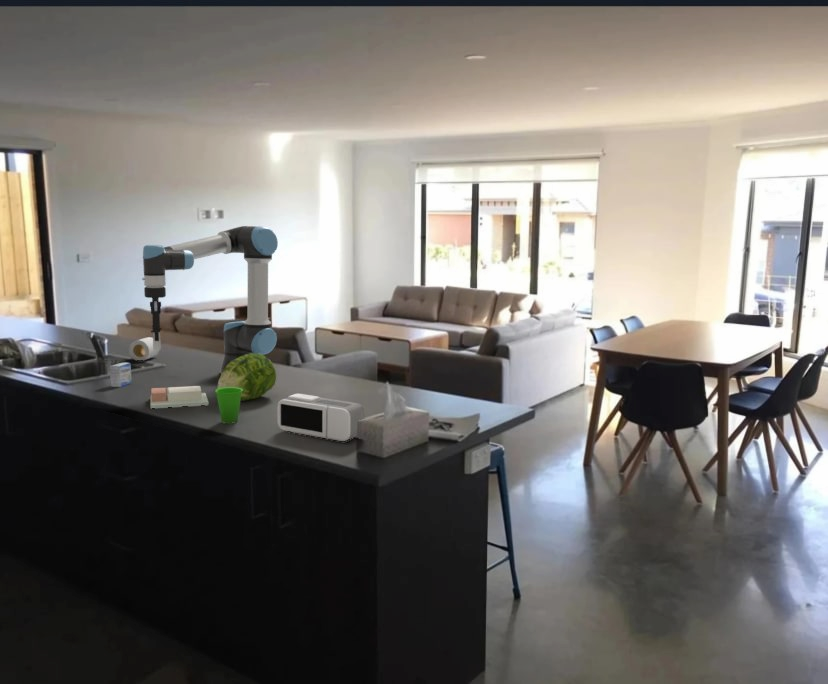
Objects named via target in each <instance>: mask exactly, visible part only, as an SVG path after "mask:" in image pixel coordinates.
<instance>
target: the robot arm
mask: <svg viewBox="0 0 828 684" xmlns="http://www.w3.org/2000/svg"><path fill="white" fill-rule="evenodd" d="M277 248H278V238H277V236H276V234H275V232H274V231H273V230H272V229H271V228H269V227H266V226H262V225H260V226H259V225H257V226H252V225H251V226H248V225H242V226H237V227H233V228H230V229H227V230H223V231H222V230H221V231H219V232H218V233H217V235H211V236H208V237H203V238H198V239H194V240H190V241H185V242H181V243H176V244H172V245H169V246H164V245H161V244H146V245H144V246H143V249H142V259H143V261H142V262H143V277H142V279H141V280H142V281H143V284H144V286H145V287H144V293H143V294H144V297H145V298H148V299H151V301H150V302H149V307H150V314H151V316H152V317H151V318H152V330H150V333H152V338H153V350H154V349H159V350H162V345H161V344H162V343H161V337H162V336H161V331H162V327H161V320H160V319H161V318H160V314H161V313H162V311H161V307H162V301H160V300H159V299H161V298H165V297H166V296H167V295H166V294H167V291H166V290H167V289H166V287H165V286H166V282H167V281H166V271H178V270H179V271H180V270H182V271H185V270H190V269H192V268H193V266H194V265H195V260H197V259H202V258H205V257H206V258H207V257H210V256H214V255H218V254H224V255H227V254H228V255H229V254H243V259H244V260H245V261H246V262H247V318H246V320H242V321H241V320H240V321H231V322H226V323H224V324H223V325H224V326H223V347H224V349H223V352H224V354H223V355H224V356H223V359H222V363H221V366H220V374H222V372H223V370H224V369H225V367H226V366H227V364H228V363H229V362H231V361H232V360H234V359H237V358H239V357H241V356H243V355H246V354H250V353H255V354H262V355H264V356H265V355H267V354H270V353H271V352H272V351H273V350H274V349H275V347H276V345H277V340H278V338H277V332H275V329H274V330H273V329H272V321H271V320H270V319H269V263H270V262H271V261H272V260H273V254H274V253H276V251H277Z"/></svg>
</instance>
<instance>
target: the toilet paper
mask: <svg viewBox="0 0 828 684" xmlns="http://www.w3.org/2000/svg"><path fill="white" fill-rule="evenodd" d="M128 351H129V355H130V357H131V358H132V359H133V360H135V361H137V360H143V361H142V362H144V361H146V360H149V359H151V358H154V357H156V356H157V355H158V354H159V351H160V349H154V350H153V337H149V336H148V337H144V338H140V339H138V340H135V341H133V342H131V344H130V345H129V350H128Z"/></svg>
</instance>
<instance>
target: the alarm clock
mask: <svg viewBox="0 0 828 684" xmlns="http://www.w3.org/2000/svg"><path fill="white" fill-rule="evenodd" d="M276 407H277V408H276V410H277V411H276V413H277V415H276V416H277V418H276V419H277V420H276V421H277V425H278V428H279V429H281V430H283V431H286V432H287V431H291V432H297V433H302V434H307V435H312V436H317V437H322V438H328V439H334V440H339V441H345V440H348V439H350V438H352V437H354V436H356V437H357V435H356V430H357V422H358V421H359V420H362V419H364V420H365V409H364V407H363V405H362V404H360V403H357V402H352V401H345V400H338V399H332V398H325V397H320V396H316V395H311V394H305V393H294V394H292V395H288V397H286V398H283V399H281V400H279V401H278V402H277V405H276ZM317 437H316V438H317ZM322 438H321V439H322ZM328 439H327V440H328ZM352 439H353V438H352ZM350 440H351V439H350ZM339 441H338V442H339ZM348 441H349V440H348Z"/></svg>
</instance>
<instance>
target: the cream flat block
mask: <svg viewBox="0 0 828 684" xmlns="http://www.w3.org/2000/svg"><path fill="white" fill-rule="evenodd" d="M202 393H203V392H202V389H201V386H200V385H191V386H189V385H188V386H170V387H166V395H167V398H168V401H175V400H192V399H202Z"/></svg>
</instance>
